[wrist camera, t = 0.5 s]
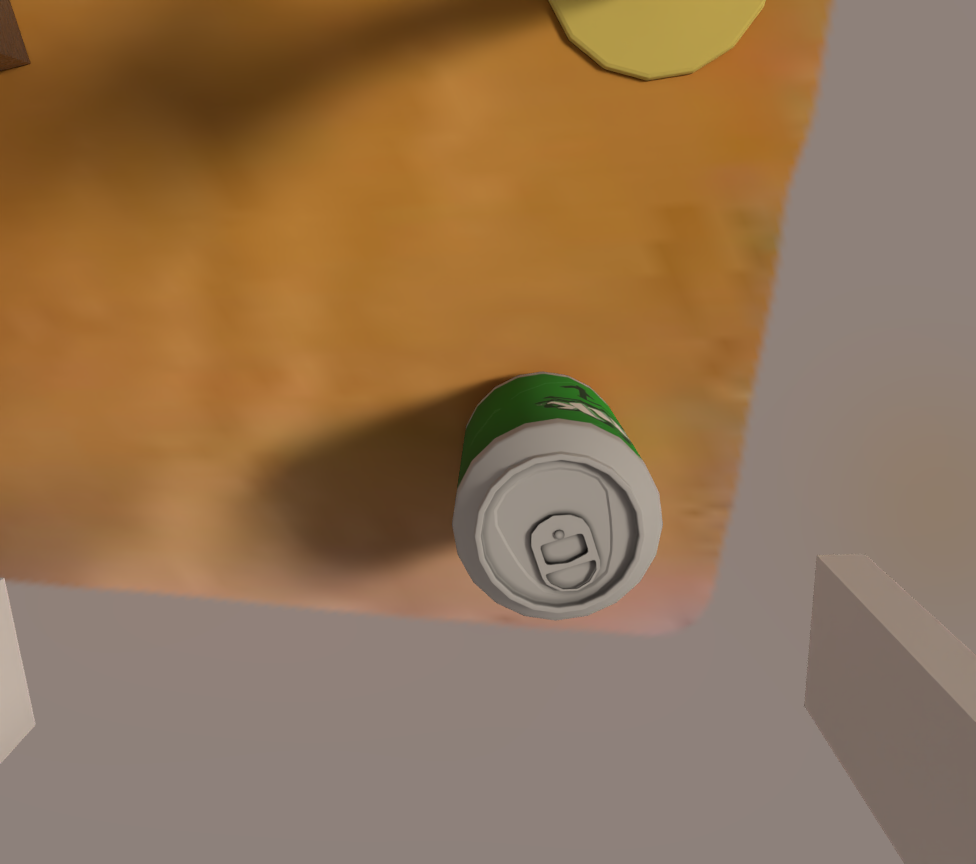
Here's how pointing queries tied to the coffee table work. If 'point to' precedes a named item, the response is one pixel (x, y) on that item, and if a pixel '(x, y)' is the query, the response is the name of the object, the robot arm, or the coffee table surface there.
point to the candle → (655, 32)
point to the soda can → (553, 500)
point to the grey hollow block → (10, 39)
